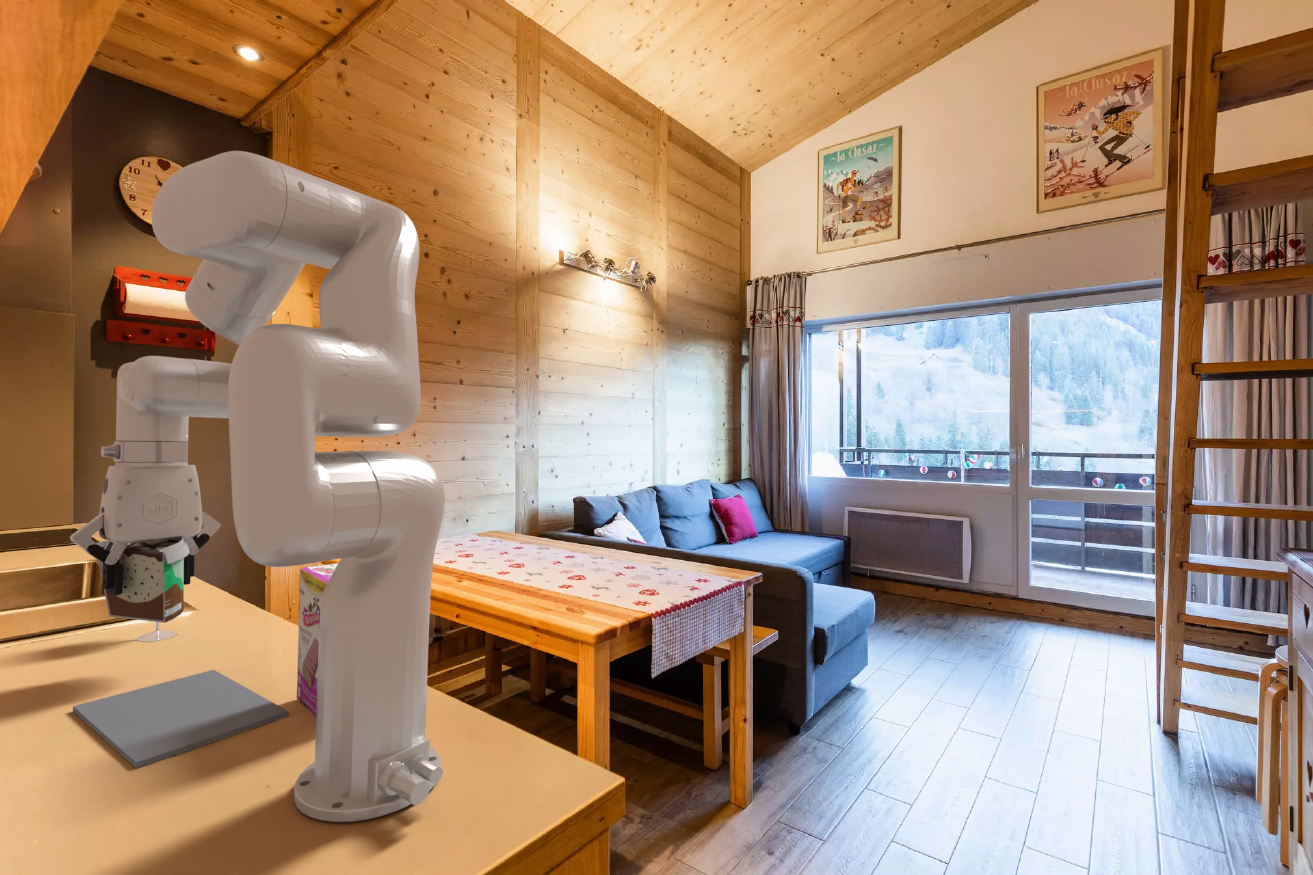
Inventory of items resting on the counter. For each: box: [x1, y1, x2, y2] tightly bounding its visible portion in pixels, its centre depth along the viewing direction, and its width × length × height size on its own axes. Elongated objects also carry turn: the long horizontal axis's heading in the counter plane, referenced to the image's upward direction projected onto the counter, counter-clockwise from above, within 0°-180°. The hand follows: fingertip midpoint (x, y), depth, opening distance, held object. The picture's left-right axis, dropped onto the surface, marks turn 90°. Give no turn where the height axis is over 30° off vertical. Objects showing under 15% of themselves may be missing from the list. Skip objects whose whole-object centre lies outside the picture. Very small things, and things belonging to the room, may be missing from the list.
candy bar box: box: [296, 562, 339, 717], centre depth 73 cm, size 11×5×16 cm, turn 47°
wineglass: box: [136, 622, 178, 643], centre depth 95 cm, size 7×7×12 cm
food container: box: [93, 537, 190, 624], centre depth 83 cm, size 12×6×10 cm, turn 77°
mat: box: [72, 669, 289, 769], centre depth 71 cm, size 20×14×1 cm
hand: (150, 587), depth 82 cm, fingers closed on food container, 6 cm apart
